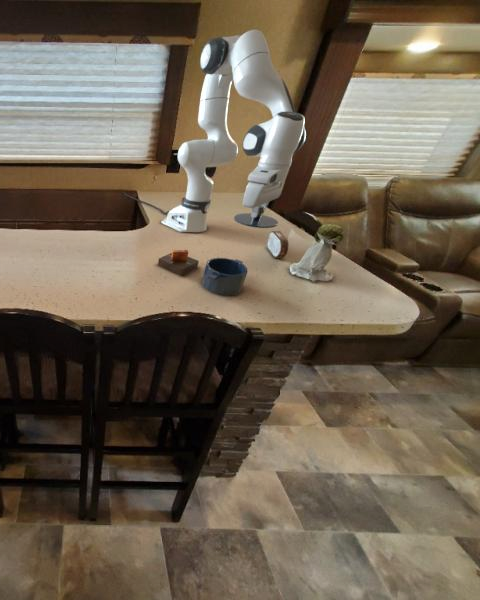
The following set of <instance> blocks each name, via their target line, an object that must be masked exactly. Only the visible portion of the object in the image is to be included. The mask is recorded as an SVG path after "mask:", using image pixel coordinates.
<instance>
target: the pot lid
mask: <svg viewBox="0 0 480 600" xmlns="http://www.w3.org/2000/svg"><path fill="white" fill-rule="evenodd" d="M263 209H264V207H263V206H261V207H260V208H259V215H258V217H255V218H254V217H251V214H252V212H249V213H247V212H246V213H243V212H242V213H238V214H236V215H234V217H233V220H234V221H235V222H236V223H238V224H240V225H243V226H246V227H251V228H257V229H271V228H275V227H276V226H278V225H279V222H278V220H277V219H275V218H273V217H272V216H268V215H264V214H262V212H263Z"/></svg>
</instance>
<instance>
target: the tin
mask: <svg viewBox="0 0 480 600" xmlns="http://www.w3.org/2000/svg"><path fill="white" fill-rule="evenodd" d="M266 247H267V250H268V251H269V253H270V254H271V255H272V256H273V257H274V258H275V259H285V257H286V255H287V254H288V251H289V239H288V237H286V236H285V234H284V233H283V232H282V231H281V230H272V231H270V233H269V235H268V237H267V241H266Z"/></svg>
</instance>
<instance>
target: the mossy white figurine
mask: <svg viewBox="0 0 480 600" xmlns="http://www.w3.org/2000/svg"><path fill="white" fill-rule="evenodd" d="M344 238H345V232H344V228H343V227H342V226H341V225H338V224H333V223H328V224H321V226H319V228H318V229H317V231H316V233H315V234H314V240H315V242H313V243H311V244H310V247H309V248H308V249H307V250H306V251H305V253H304V254H303V256H302V257H301V258H300V261H299V262H294V263H292V264H291V265H290V267H289V271H290V274H291V275H296V276H297V277H301V278H303V279H306V280H309V281H312V283H314V282H316V281H321V282H322V281H323V282H329V281H331V280H332V279H333V277H334V274H332V273H330V270H327V269H325V267H326V266H327V265H328V263H330V261H331V258H332V256H333V253H332V252H333V250H334V249H333V245H336V244H339V243H340V242H342V241H343V240H344ZM329 273H330V274H329Z"/></svg>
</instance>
